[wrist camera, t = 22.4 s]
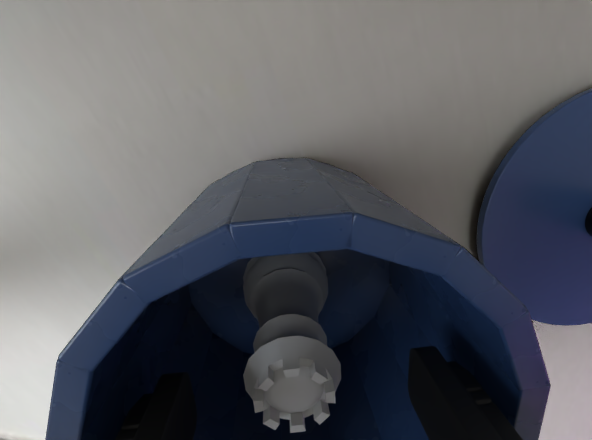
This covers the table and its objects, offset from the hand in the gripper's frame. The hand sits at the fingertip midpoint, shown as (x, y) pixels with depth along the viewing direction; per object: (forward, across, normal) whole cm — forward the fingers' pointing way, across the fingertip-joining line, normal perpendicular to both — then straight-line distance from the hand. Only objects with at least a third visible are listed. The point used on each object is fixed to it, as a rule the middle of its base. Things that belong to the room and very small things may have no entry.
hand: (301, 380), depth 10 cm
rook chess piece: (+7, 0, 0) cm, 7 cm away
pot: (+8, 0, 0) cm, 8 cm away
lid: (+7, -17, -2) cm, 19 cm away
